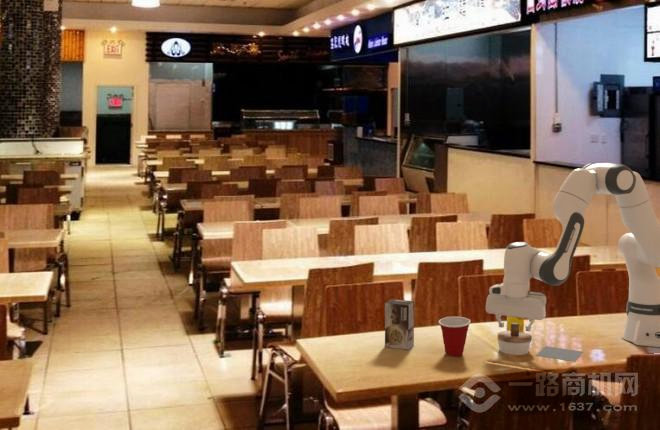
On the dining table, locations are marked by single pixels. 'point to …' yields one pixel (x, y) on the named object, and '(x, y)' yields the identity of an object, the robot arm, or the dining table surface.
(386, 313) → the coffee box
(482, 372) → the dining table surface
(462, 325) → the plastic cup
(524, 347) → the ramekin
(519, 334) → the lid
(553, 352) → the mat
